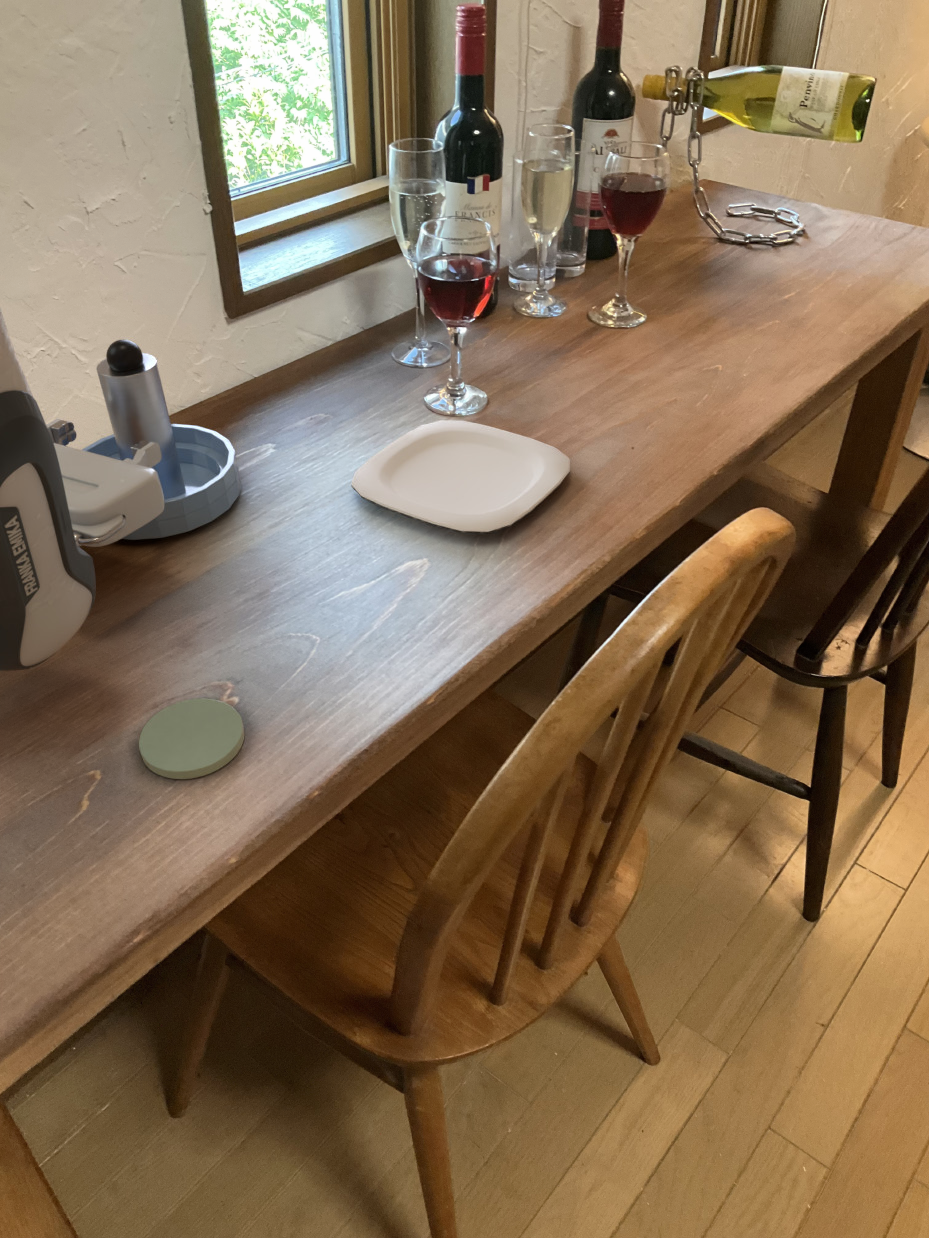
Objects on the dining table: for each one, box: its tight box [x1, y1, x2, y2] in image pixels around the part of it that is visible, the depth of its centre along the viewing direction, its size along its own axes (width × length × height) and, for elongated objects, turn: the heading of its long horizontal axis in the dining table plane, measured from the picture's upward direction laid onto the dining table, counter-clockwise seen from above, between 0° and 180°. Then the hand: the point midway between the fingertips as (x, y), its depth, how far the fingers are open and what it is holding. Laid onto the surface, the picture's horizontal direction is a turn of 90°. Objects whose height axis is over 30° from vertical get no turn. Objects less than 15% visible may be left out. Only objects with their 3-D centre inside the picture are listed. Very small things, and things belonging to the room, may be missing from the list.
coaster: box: [138, 697, 245, 780], centre depth 66 cm, size 7×7×1 cm
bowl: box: [81, 423, 242, 541], centre depth 90 cm, size 15×15×4 cm
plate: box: [350, 419, 571, 535], centre depth 92 cm, size 18×18×2 cm
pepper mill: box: [96, 338, 186, 500], centre depth 86 cm, size 5×5×15 cm
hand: (110, 438), depth 83 cm, fingers open, 8 cm apart
